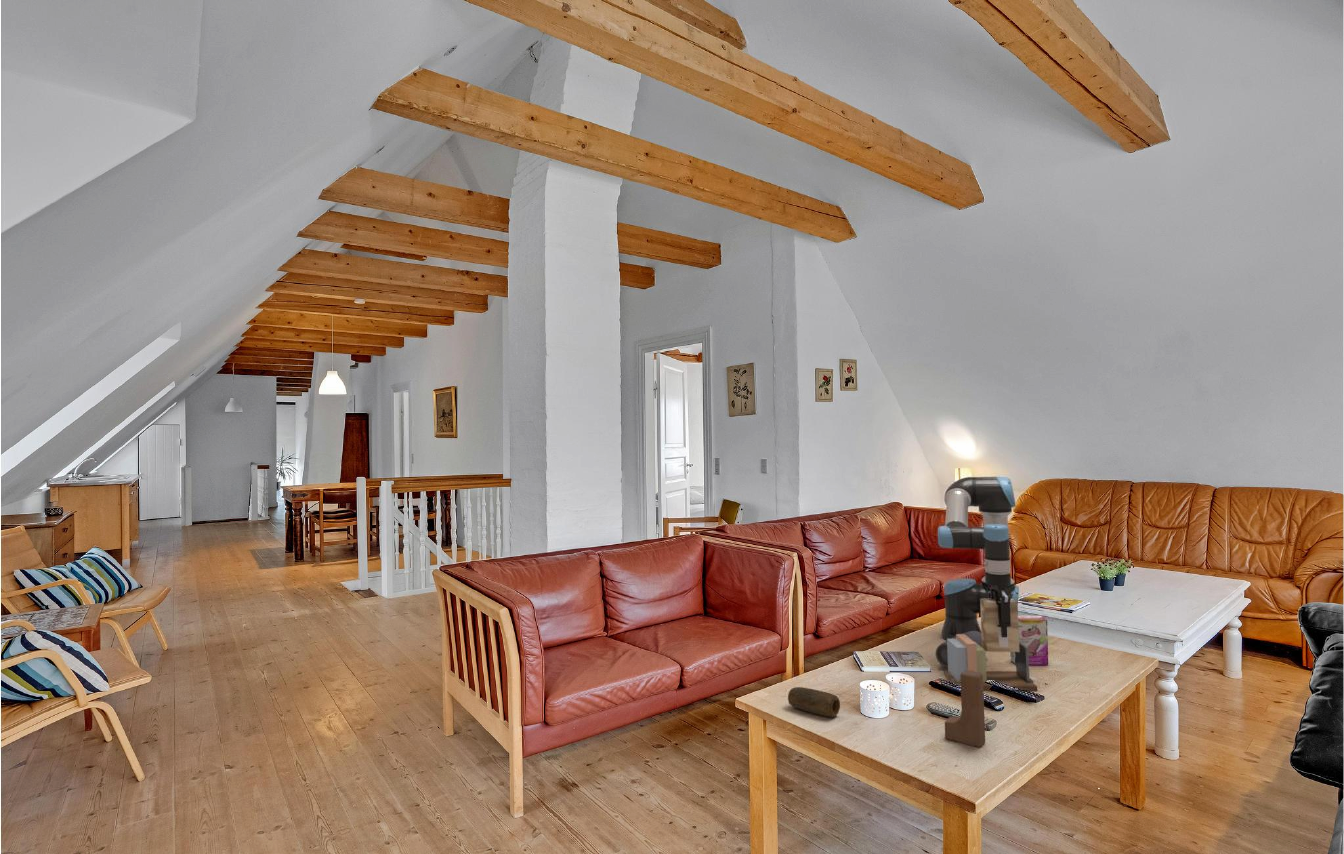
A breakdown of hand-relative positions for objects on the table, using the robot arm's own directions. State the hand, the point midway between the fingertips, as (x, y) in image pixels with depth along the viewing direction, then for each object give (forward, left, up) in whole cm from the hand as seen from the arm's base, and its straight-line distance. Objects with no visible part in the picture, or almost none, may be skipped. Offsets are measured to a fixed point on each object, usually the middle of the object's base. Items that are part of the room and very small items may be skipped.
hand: (1000, 644), depth 217 cm
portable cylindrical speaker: (+26, -63, -13) cm, 70 cm away
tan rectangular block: (0, 0, -2) cm, 2 cm away
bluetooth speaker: (-19, -6, -13) cm, 24 cm away
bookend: (0, +7, -11) cm, 13 cm away
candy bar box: (-20, +17, -13) cm, 29 cm away
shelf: (0, -4, -12) cm, 13 cm away
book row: (0, -11, -11) cm, 15 cm away
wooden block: (+44, -26, -13) cm, 53 cm away
